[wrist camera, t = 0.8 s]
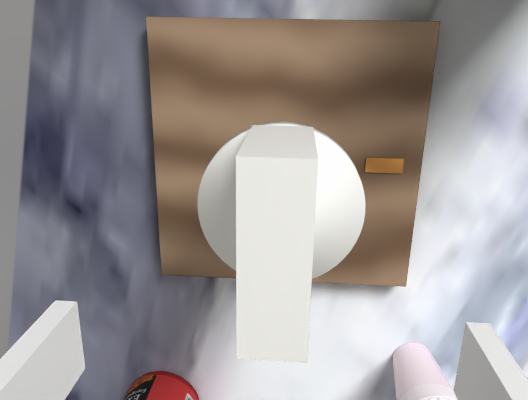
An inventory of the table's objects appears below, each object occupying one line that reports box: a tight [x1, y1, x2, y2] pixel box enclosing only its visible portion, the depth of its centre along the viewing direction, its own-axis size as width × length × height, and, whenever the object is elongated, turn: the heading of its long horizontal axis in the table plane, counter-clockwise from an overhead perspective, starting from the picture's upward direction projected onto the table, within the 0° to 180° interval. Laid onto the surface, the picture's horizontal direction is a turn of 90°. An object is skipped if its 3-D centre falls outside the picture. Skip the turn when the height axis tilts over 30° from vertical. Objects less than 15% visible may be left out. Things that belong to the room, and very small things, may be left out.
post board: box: [146, 17, 440, 287], centre depth 35 cm, size 22×22×12 cm
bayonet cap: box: [197, 121, 365, 363], centre depth 26 cm, size 12×10×9 cm
